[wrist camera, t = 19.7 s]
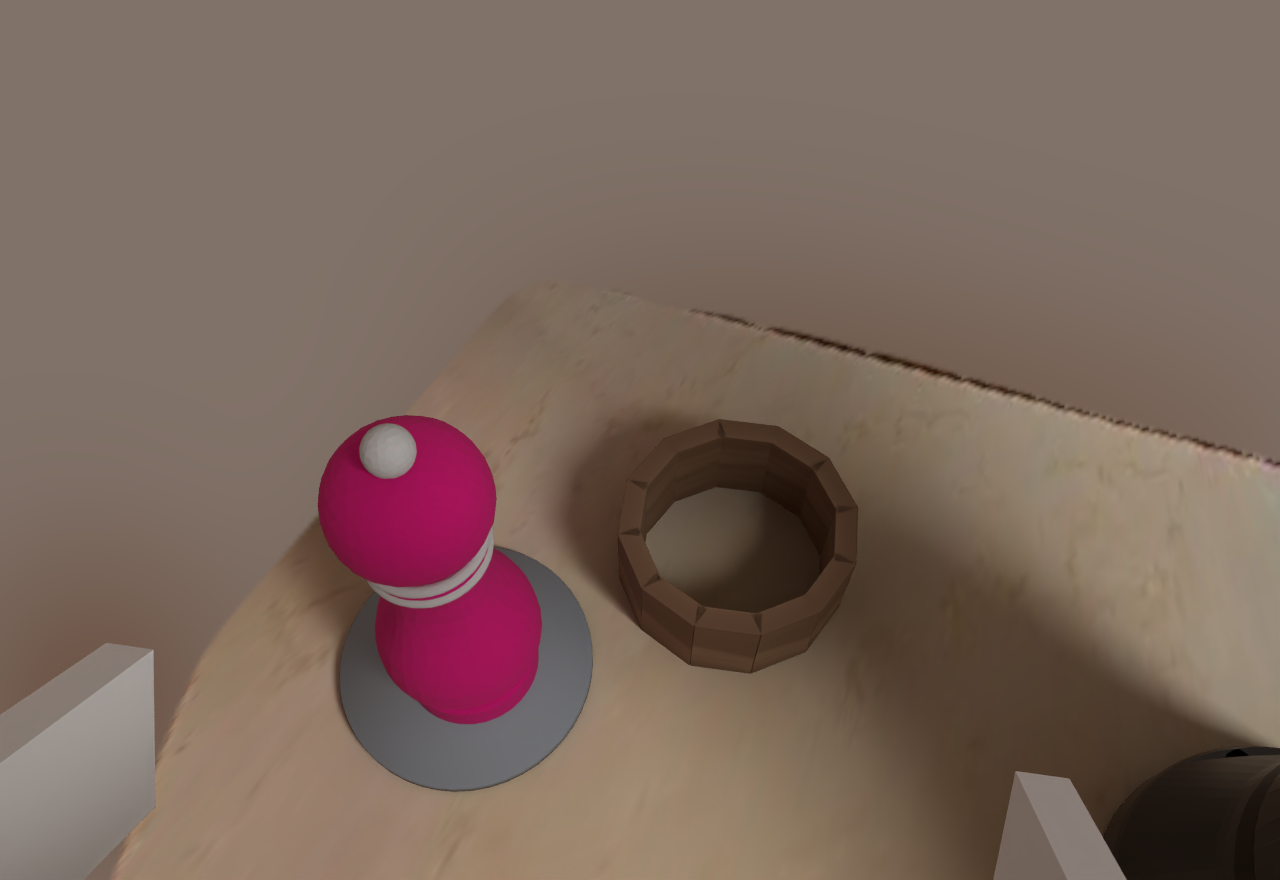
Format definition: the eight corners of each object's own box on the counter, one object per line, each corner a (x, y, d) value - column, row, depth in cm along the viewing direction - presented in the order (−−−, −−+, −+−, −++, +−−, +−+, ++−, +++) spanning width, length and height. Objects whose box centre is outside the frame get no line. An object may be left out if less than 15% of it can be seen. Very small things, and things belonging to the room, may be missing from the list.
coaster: (642, 642, 50) (642, 638, 49) (474, 848, 45) (472, 845, 44) (462, 509, 54) (461, 503, 53) (290, 684, 49) (286, 680, 48)
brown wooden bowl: (880, 549, 52) (901, 502, 48) (758, 716, 48) (770, 681, 44) (707, 437, 56) (712, 385, 52) (578, 582, 51) (572, 538, 47)
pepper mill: (400, 596, 50) (276, 351, 33) (546, 584, 51) (497, 336, 34) (394, 743, 47) (251, 550, 30) (552, 729, 47) (500, 530, 30)
